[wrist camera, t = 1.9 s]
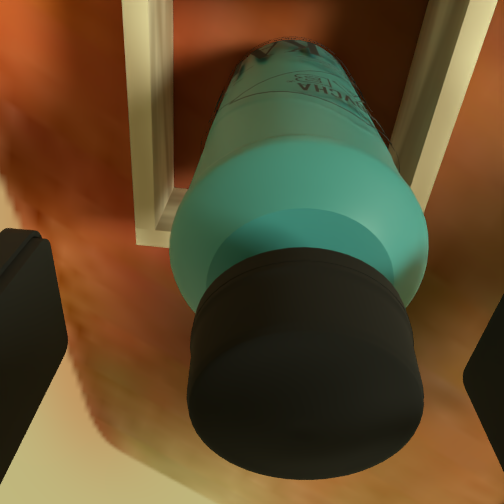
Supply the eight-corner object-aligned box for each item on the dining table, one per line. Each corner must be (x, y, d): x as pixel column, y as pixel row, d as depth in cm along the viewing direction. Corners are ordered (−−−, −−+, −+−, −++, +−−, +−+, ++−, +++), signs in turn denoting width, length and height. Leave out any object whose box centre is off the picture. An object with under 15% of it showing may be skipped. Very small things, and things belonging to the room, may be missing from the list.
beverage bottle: (326, 167, 26) (416, 555, 9) (213, 138, 25) (90, 499, 9) (369, 48, 22) (646, 329, 6) (239, 11, 22) (114, 204, 5)
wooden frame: (464, -48, 20) (514, -48, 16) (384, 224, 28) (402, 272, 24) (150, -84, 20) (116, -94, 16) (157, 200, 27) (136, 244, 23)
